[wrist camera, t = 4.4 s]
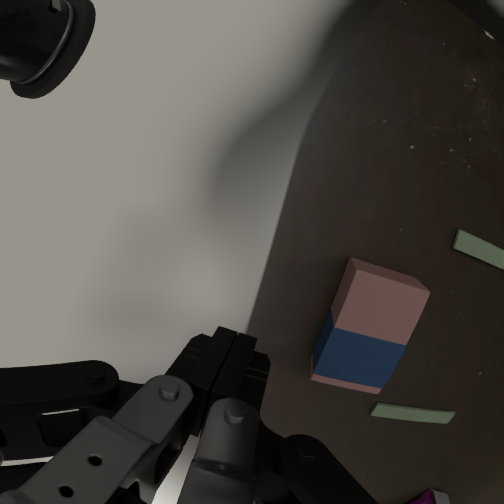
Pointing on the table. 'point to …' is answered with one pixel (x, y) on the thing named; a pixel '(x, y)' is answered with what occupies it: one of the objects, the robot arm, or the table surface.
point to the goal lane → (498, 259)
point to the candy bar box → (431, 498)
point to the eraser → (367, 327)
